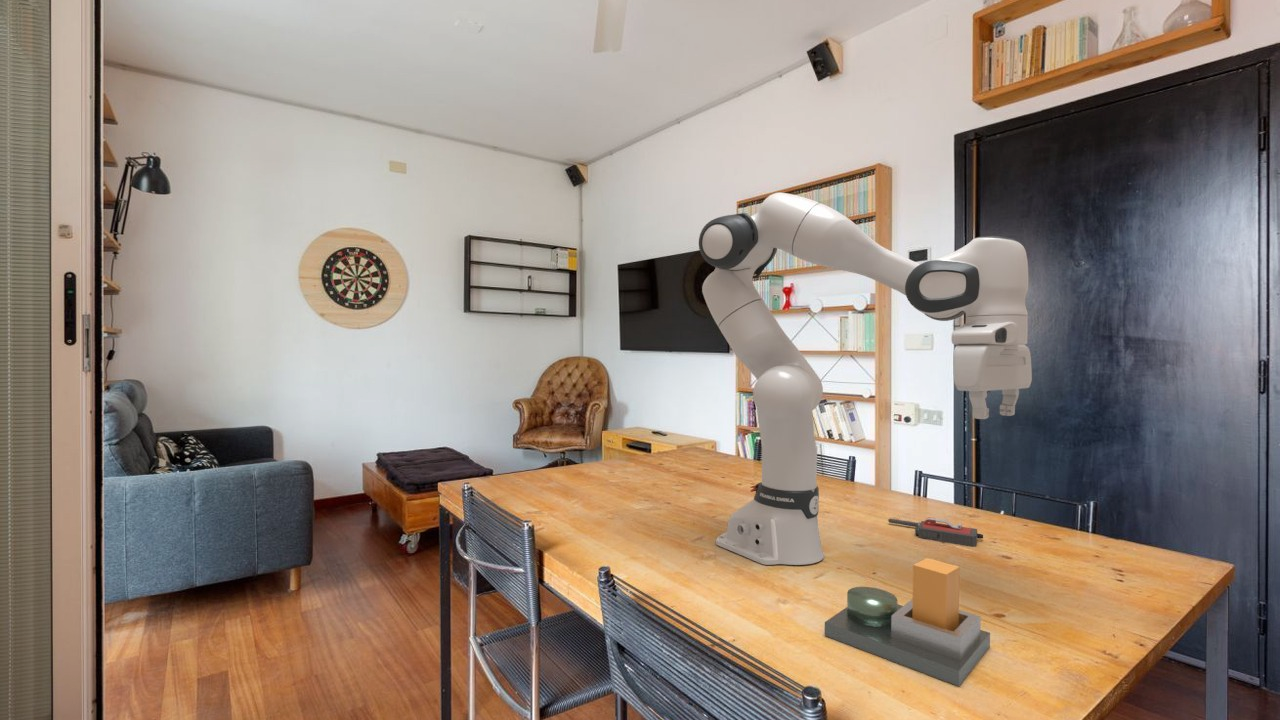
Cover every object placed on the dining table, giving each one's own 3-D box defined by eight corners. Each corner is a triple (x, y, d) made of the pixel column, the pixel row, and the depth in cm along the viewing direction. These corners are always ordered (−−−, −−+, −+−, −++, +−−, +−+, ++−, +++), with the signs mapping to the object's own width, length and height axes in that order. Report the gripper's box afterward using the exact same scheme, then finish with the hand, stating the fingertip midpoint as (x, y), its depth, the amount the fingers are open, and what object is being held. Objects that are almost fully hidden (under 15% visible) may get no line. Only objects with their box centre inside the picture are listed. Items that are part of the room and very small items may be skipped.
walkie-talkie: (983, 539, 131) (889, 524, 142) (984, 520, 131) (889, 506, 142) (982, 550, 123) (882, 534, 134) (982, 530, 123) (882, 515, 134)
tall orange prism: (912, 636, 81) (913, 565, 81) (925, 626, 84) (927, 558, 84) (945, 648, 78) (946, 574, 77) (958, 638, 80) (959, 566, 80)
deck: (824, 635, 85) (824, 601, 85) (865, 606, 95) (865, 576, 95) (958, 686, 72) (959, 646, 72) (989, 646, 82) (990, 611, 82)
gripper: (1003, 336, 105) (1002, 412, 105) (945, 333, 93) (944, 418, 93) (1043, 335, 100) (1041, 415, 100) (987, 332, 88) (986, 422, 88)
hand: (994, 417), depth 96 cm, fingers open, 8 cm apart
